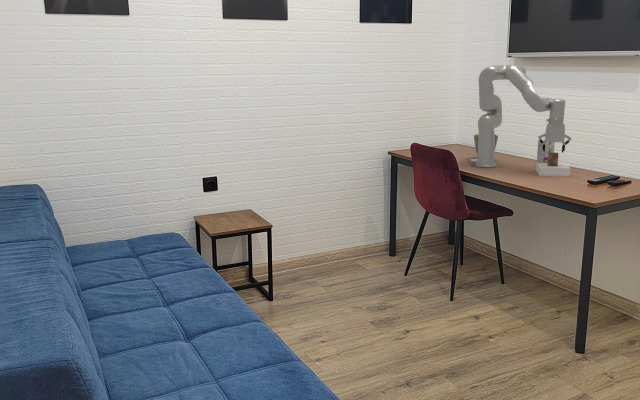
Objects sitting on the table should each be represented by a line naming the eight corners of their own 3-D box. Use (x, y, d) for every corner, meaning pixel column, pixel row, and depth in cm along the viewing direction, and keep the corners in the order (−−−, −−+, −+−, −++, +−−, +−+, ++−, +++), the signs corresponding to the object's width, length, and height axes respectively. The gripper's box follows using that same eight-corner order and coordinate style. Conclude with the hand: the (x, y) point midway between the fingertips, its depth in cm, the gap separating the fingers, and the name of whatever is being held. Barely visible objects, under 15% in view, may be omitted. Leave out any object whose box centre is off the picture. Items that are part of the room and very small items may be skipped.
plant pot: (468, 160, 377) (469, 136, 373) (479, 157, 387) (480, 133, 383) (490, 163, 367) (491, 137, 363) (500, 159, 377) (502, 135, 373)
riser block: (539, 176, 327) (540, 167, 326) (535, 171, 340) (536, 163, 339) (569, 177, 323) (570, 168, 322) (565, 172, 337) (565, 163, 335)
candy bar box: (545, 164, 356) (547, 138, 353) (553, 166, 353) (555, 139, 349) (535, 167, 350) (537, 140, 346) (543, 168, 346) (545, 141, 342)
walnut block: (548, 166, 329) (549, 153, 328) (547, 164, 334) (548, 152, 332) (557, 166, 328) (558, 154, 326) (556, 164, 332) (557, 152, 331)
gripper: (539, 121, 324) (536, 152, 328) (573, 122, 318) (570, 153, 323) (539, 120, 331) (536, 150, 335) (572, 121, 325) (569, 151, 329)
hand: (553, 151), depth 329 cm, fingers open, 9 cm apart
